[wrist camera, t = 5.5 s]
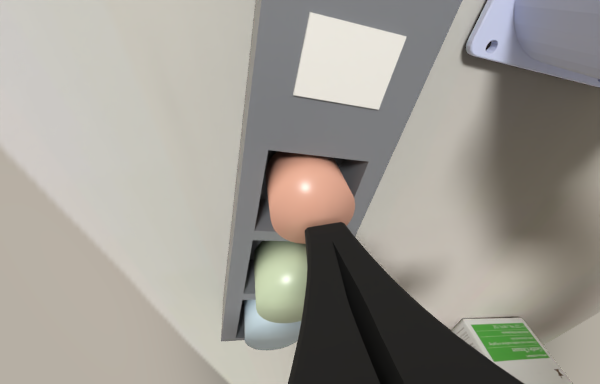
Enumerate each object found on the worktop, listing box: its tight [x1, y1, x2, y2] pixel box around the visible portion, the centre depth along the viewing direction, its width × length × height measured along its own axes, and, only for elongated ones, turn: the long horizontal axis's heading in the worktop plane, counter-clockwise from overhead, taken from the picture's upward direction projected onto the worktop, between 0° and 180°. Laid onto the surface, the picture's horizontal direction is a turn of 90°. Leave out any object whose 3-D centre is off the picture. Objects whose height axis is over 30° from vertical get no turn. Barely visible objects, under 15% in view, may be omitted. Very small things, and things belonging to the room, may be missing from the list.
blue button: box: [244, 300, 301, 350], centre depth 18 cm, size 4×4×3 cm
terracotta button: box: [265, 151, 355, 244], centre depth 13 cm, size 4×4×3 cm
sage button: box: [254, 240, 307, 323], centre depth 15 cm, size 4×4×3 cm
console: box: [221, 0, 462, 341], centre depth 15 cm, size 6×20×3 cm, turn 167°
